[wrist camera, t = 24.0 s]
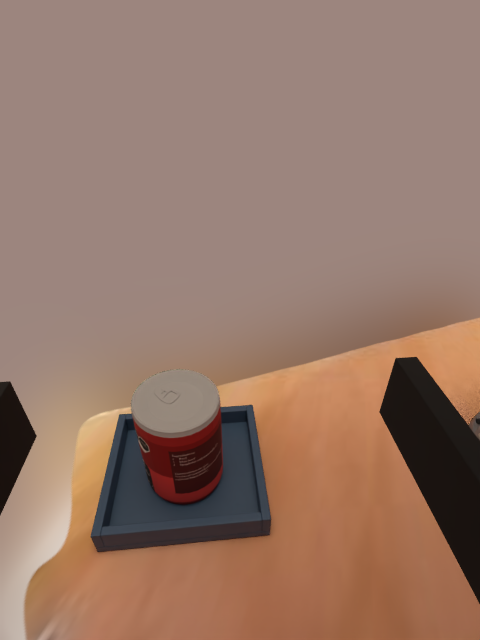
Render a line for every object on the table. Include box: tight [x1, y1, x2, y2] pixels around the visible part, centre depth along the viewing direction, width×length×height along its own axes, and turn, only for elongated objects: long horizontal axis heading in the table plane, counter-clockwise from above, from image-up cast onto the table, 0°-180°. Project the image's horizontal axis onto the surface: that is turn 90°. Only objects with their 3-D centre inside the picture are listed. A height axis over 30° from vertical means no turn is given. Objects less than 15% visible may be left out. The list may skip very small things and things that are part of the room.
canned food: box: [131, 369, 223, 505], centre depth 35 cm, size 8×8×11 cm
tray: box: [91, 405, 271, 552], centre depth 38 cm, size 16×14×3 cm
